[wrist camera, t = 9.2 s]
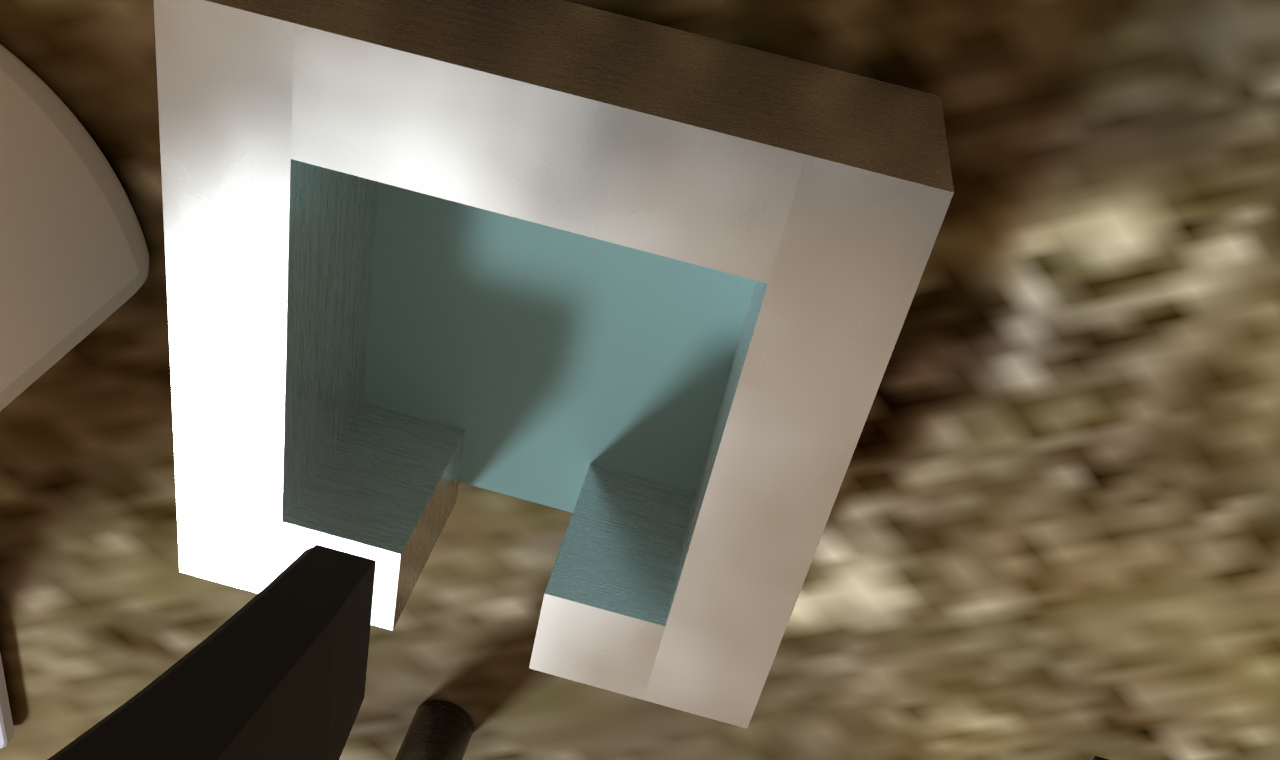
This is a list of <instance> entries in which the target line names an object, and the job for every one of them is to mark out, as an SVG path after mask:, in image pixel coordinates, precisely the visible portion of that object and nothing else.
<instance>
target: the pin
mask: <svg viewBox="0 0 1280 760" xmlns="http://www.w3.org/2000/svg"><path fill="white" fill-rule="evenodd" d="M472 732H473V723H472V721H471V719H470V717H469V716H468V715H467V714H466V713H465V712H464V711H463V710H462V709H460V708H459V707H457V706H455V705H453V704H450V703H447V702H442V701H430V702H426V703H424V704H422V705H421V706H419V707H418V709H417V711H416V713H415V715H414V718H413V720H412V722H411V724H410V727H409V729H408V731H407V734H406V736H405V738H404V741H403V743H402V745H401V748H400V750H399V752H398V754H397V757H396V759H395V760H462V759H463V756H464V754H465V751H466V748H467V746H468V743H469V740H470V738H471V735H472Z"/></svg>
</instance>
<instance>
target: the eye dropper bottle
mask: <svg viewBox="0 0 1280 760" xmlns="http://www.w3.org/2000/svg"><path fill="white" fill-rule="evenodd" d="M148 273H149V252H148V249H147V245H146V242H145V238H144V235H143V232H142V230H141V227H140V224H139V222H138V219H137V217H136V214H135V212H134V210H133V208H132V205H131V203H130V201H129V199H128V197H127V195H126V193H125V191H124V189H123V187H122V185H121V183H120V181H119V180H118V178H117V176H116V174H115V172H114V171H113V169H112V167H111V166H110V164H109V163H108V161H107V159H106V158H105V156H104V155H103V153H102V152H101V150H100V149H99V147H98V146H97V144H96V143H95V141H94V140H93V139H92V137H91V136H90V135H89V133H88V132H87V131H86V129H85V128H84V127H83V125H82V124H81V123H80V122H79V120H78V119H77V118H76V117H75V115H74V114H73V113H72V112H71V111H70V110H69V108H68V107H67V106H66V105H65V104H64V103H63V102H62V100H61V99H60V98H59V97H58V96H57V95H56V94H55V93H54V92H53V91H52V90H51V89H50V88H49V87H48V86H47V85H46V84H45V83H44V82H43V81H42V80H41V79H40V78H39V77H38V76H37V75H36V74H35V73H34V72H33V71H32V70H31V69H29V68H28V67H27V66H26V65H25V64H24V63H23V62H22V61H20V60H19V59H18V58H17V57H16V56H15V55H13V54H12V53H11V52H10V51H8V50H7V49H6V48H5V47H4V46H2V45H1V44H0V411H1V410H2V409H4V408H5V407H6V406H7V405H8V404H9V403H11V402H12V401H13V400H14V399H15V398H16V397H18V396H19V395H20V394H21V393H22V392H23V391H24V390H26V389H27V388H28V387H29V386H30V385H31V384H33V383H34V382H35V381H36V380H37V379H38V378H39V377H41V376H42V375H43V374H44V373H45V372H46V371H47V370H49V369H50V368H51V367H52V366H53V365H54V364H55V363H57V362H58V361H59V360H60V359H61V358H62V357H64V356H65V355H66V354H67V353H68V352H69V351H70V350H72V349H73V348H74V347H75V346H76V345H77V344H78V343H80V342H81V341H82V340H83V339H84V338H85V337H86V336H88V335H89V334H90V333H91V332H92V331H93V330H94V329H96V328H97V327H98V326H99V325H100V324H101V323H103V322H104V321H105V320H106V319H107V318H108V317H109V316H110V315H112V314H113V313H114V312H115V311H116V310H117V309H118V308H120V307H121V306H122V305H123V304H124V303H125V302H126V301H128V300H129V299H130V298H131V297H132V296H133V295H134V294H135V293H136V292H137V291H138V290H139V289H140V287H141V286H142V285H143V284H144V282H145V281H146V279H147V277H148Z"/></svg>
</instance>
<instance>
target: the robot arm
mask: <svg viewBox="0 0 1280 760" xmlns="http://www.w3.org/2000/svg"><path fill="white" fill-rule="evenodd" d="M375 567H376V561H375V560H372V559H368V558H364V557H361V556H357V555H353V554H349V553H346V552H342V551H338V550H335V549H331V548H327V547H324V546H320V545H315V546H313V547H311V548H309V549H307V550H305V551H304V552H303V553H302V554H301V555H300V556H299V557H298V558H297V559H296V560H295V561H294V562H292V563H291V564H290V565H289V566H288V567H287V568H286V569H285V570H284V571H283V572H282V573H281V574H279V575H278V576H277V577H276V578H275V579H274V580H273V581H272V582H271V583H270V584H268V585H267V586H266V587H265V588H264V589H263V590H262V591H261V592H260V593H258V594H257V595H256V596H255V597H254V598H253V599H252V600H251V601H249V602H248V603H247V604H246V605H245V606H244V607H243V608H241V609H240V610H239V611H238V612H237V613H236V614H234V615H233V616H232V617H231V618H230V619H229V620H227V621H226V622H225V623H224V624H223V625H222V626H220V627H219V628H218V629H217V630H216V631H215V632H213V633H212V634H211V635H210V636H209V637H207V638H206V639H205V640H204V641H203V642H201V643H200V644H199V645H198V646H196V647H195V648H194V649H193V650H191V651H190V652H189V653H188V654H186V655H185V656H184V657H183V658H181V659H180V660H179V661H178V662H177V663H175V664H174V665H173V666H172V667H170V668H169V669H168V670H167V671H165V672H164V673H163V674H162V675H160V676H159V677H158V678H157V679H155V680H154V681H153V682H152V683H150V684H149V685H148V686H147V687H145V688H144V689H143V690H142V691H140V692H139V693H138V694H136V695H135V696H134V697H133V698H131V699H130V700H129V701H127V702H126V703H125V704H123V705H122V706H121V707H119V708H118V709H116V710H115V711H114V712H112V713H111V714H110V715H108V716H107V717H106V718H104V719H103V720H101V721H100V722H99V723H97V724H96V725H95V726H93V727H92V728H90V729H89V730H88V731H86V732H85V733H84V734H82V735H81V736H79V737H78V738H77V739H75V740H74V741H73V742H71V743H70V744H68V745H67V746H66V747H64V748H63V749H62V750H60V751H59V752H58V753H56V754H55V755H53V756H52V757H51V758H49V759H48V760H339V758H340V756H341V753H342V751H343V748H344V746H345V743H346V741H347V738H348V736H349V734H350V731H351V729H352V726H353V724H354V721H355V719H356V716H357V714H358V711H359V709H360V706H361V704H362V701H363V699H364V693H365V681H366V670H367V658H368V647H369V635H370V624H371V613H372V601H373V590H374V578H375ZM13 736H14V727H13V721H12V716H11V710H10V704H9V699H8V693H7V687H6V682H5V676H4V670H3V665H2V659H1V654H0V749H1V748H4V747H5V746H6V745H7V744H8V743H9V741H10V740H11V739H12V738H13ZM1093 760H1108V759H1104V758H1101V757H1097V756H1095V757H1094V759H1093Z"/></svg>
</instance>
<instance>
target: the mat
mask: <svg viewBox="0 0 1280 760" xmlns="http://www.w3.org/2000/svg"><path fill="white" fill-rule="evenodd" d="M755 284H756V280H752V279H748V278H745V277H741V276H737V275H733V274H729V273H725V272H722V271H718V270H714V269H710V268H706V267H702V266H699V265H695V264H691V263H687V262H683V261H680V260H676V259H672V258H668V257H664V256H660V255H657V254H653V253H649V252H645V251H641V250H637V249H634V248H630V247H626V246H622V245H618V244H614V243H611V242H607V241H603V240H599V239H595V238H591V237H588V236H584V235H580V234H576V233H572V232H568V231H565V230H561V229H557V228H553V227H549V226H546V225H542V224H538V223H534V222H530V221H526V220H523V219H519V218H515V217H511V216H507V215H503V214H500V213H496V212H492V211H488V210H484V209H480V208H477V207H473V206H469V205H465V204H461V203H457V202H454V201H450V200H446V199H442V198H438V197H434V196H431V195H427V194H423V193H419V192H415V191H412V190H408V189H404V188H400V187H396V186H392V185H389V184H385V183H381V182H379V187H378V201H377V215H376V229H375V243H374V257H373V270H372V284H371V298H370V312H369V326H368V340H367V353H366V367H365V381H364V395H363V403H367V404H370V405H374V406H378V407H382V408H385V409H389V410H393V411H396V412H400V413H404V414H408V415H411V416H415V417H419V418H423V419H426V420H430V421H434V422H437V423H441V424H445V425H449V426H452V427H456V428H460V429H463V430H466V433H465V440H464V447H463V454H462V462H461V469H460V476H459V482H461V483H465V484H469V485H472V486H476V487H480V488H483V489H487V490H491V491H494V492H498V493H502V494H505V495H509V496H513V497H516V498H520V499H524V500H528V501H531V502H535V503H539V504H542V505H546V506H550V507H553V508H557V509H561V510H564V511H568V512H572V513H573V511H574V508H575V505H576V503H577V500H578V497H579V494H580V491H581V488H582V486H583V483H584V480H585V477H586V474H587V471H588V469H589V466H590V464H594V465H597V466H601V467H605V468H609V469H612V470H616V471H620V472H623V473H627V474H631V475H635V476H638V477H642V478H646V479H650V480H653V481H657V482H661V483H664V484H668V485H672V486H676V487H679V488H683V489H687V490H690V491H694V492H695V489H696V485H697V482H698V479H699V475H700V472H701V468H702V465H703V462H704V458H705V455H706V451H707V448H708V444H709V441H710V438H711V434H712V431H713V427H714V424H715V420H716V417H717V414H718V410H719V407H720V403H721V400H722V396H723V393H724V390H725V386H726V383H727V379H728V376H729V373H730V369H731V366H732V362H733V359H734V355H735V352H736V349H737V345H738V342H739V338H740V335H741V331H742V328H743V325H744V321H745V318H746V314H747V311H748V308H749V304H750V301H751V297H752V294H753V290H754V287H755Z"/></svg>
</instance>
